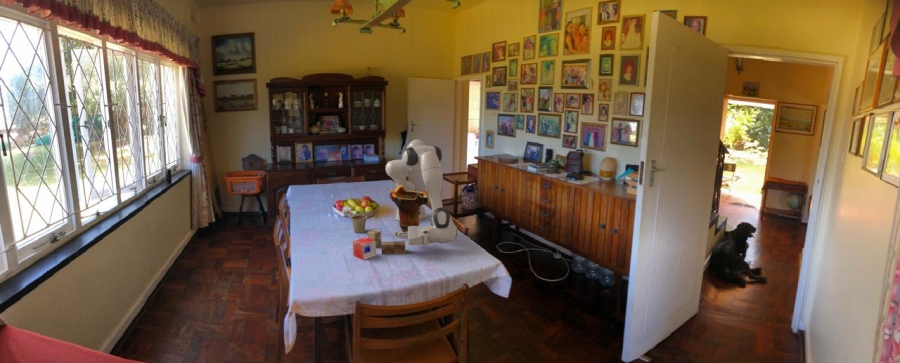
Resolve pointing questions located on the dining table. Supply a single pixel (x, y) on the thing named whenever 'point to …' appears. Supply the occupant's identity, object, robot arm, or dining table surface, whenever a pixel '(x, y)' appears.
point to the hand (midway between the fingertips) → (398, 235)
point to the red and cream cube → (364, 248)
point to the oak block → (375, 237)
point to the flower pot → (359, 223)
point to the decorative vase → (408, 206)
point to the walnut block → (393, 247)
